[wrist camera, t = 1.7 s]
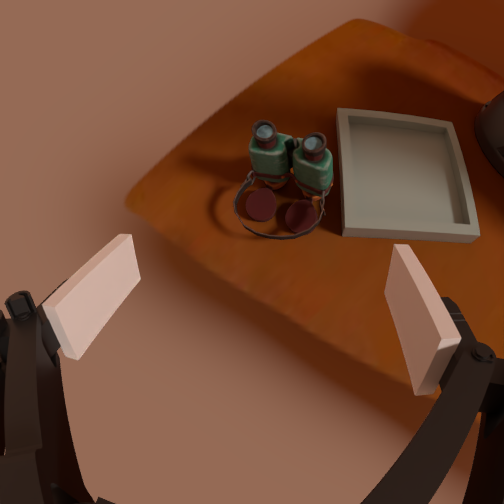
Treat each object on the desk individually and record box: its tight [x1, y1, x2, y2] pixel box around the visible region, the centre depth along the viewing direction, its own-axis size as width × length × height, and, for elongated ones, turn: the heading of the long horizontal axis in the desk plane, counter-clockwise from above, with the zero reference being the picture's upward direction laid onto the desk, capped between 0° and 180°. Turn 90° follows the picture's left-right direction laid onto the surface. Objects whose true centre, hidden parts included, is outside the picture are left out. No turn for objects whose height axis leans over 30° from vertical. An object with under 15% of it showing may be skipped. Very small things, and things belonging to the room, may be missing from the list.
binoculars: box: [233, 120, 334, 240], centre depth 29 cm, size 9×11×10 cm
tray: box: [336, 108, 480, 243], centre depth 32 cm, size 16×16×2 cm
